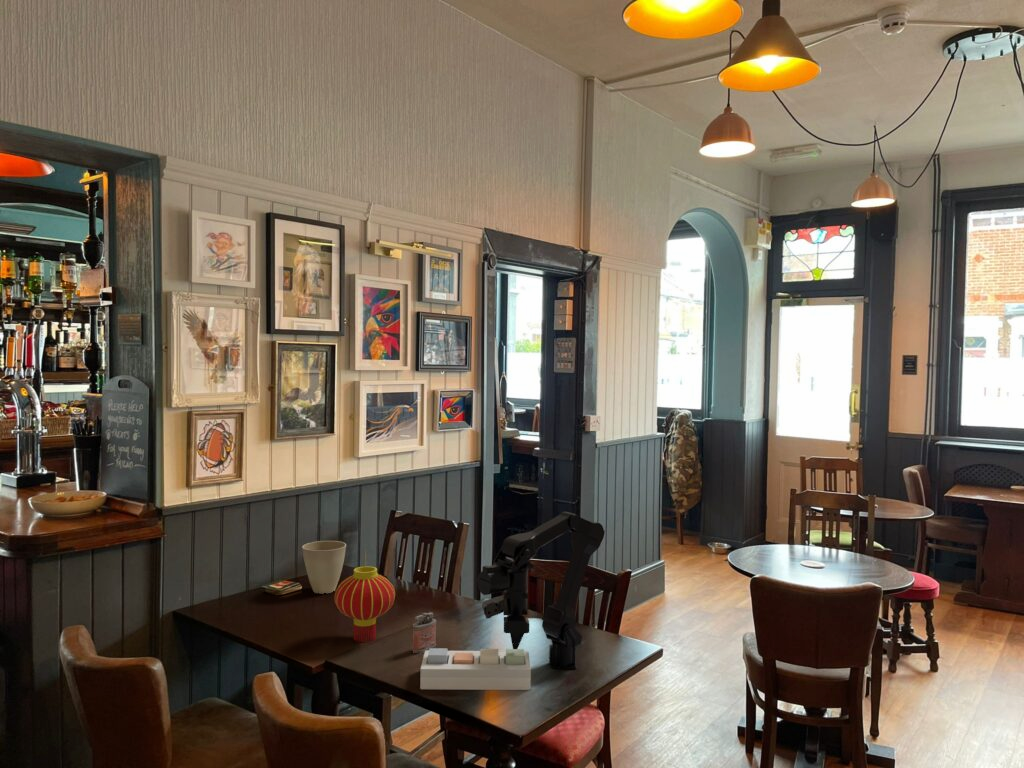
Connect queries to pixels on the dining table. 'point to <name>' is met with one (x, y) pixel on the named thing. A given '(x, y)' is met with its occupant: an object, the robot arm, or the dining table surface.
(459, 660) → the key terracotta
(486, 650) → the key cream
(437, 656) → the key slate
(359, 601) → the lantern
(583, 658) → the dining table surface
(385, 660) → the dining table surface
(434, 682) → the keypad
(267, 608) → the dining table surface
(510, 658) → the key sage
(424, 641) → the lighter
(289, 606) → the dining table surface
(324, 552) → the plant pot
